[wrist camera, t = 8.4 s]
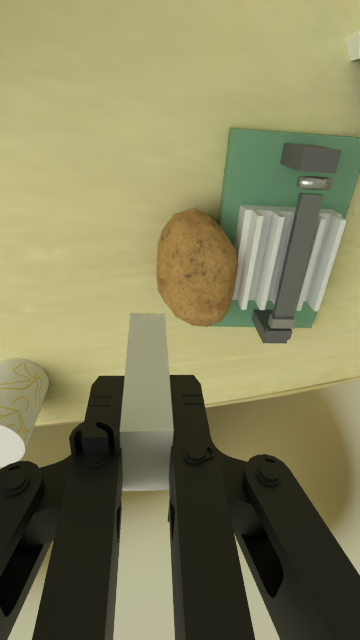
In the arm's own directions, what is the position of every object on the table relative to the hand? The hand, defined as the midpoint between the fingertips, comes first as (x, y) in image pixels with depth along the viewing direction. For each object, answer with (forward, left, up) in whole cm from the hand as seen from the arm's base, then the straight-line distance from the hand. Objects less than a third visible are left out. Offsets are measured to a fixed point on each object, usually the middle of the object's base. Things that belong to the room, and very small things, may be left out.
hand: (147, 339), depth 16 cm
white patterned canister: (+27, -19, -29) cm, 44 cm away
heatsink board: (+4, +16, -28) cm, 33 cm away
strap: (+4, +16, -22) cm, 27 cm away
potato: (+6, +6, -29) cm, 30 cm away
